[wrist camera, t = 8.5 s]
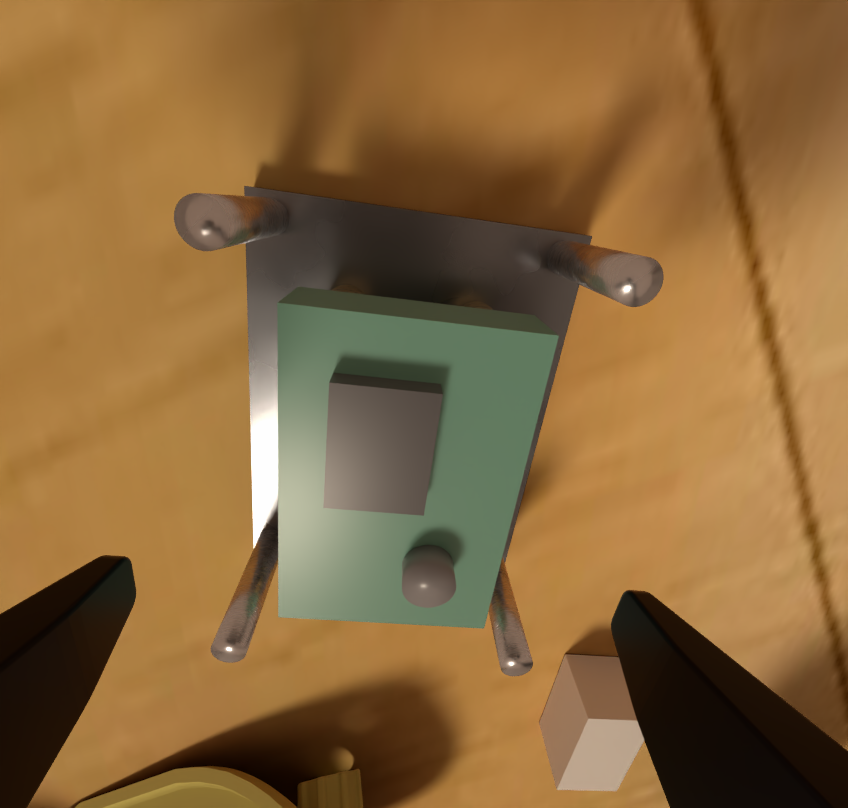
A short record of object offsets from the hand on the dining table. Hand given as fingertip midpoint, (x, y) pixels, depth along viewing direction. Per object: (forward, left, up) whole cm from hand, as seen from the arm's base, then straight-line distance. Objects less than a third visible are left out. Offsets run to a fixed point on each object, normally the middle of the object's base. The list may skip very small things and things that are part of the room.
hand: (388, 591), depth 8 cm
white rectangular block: (-11, +15, -9) cm, 21 cm away
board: (0, 0, -5) cm, 5 cm away
